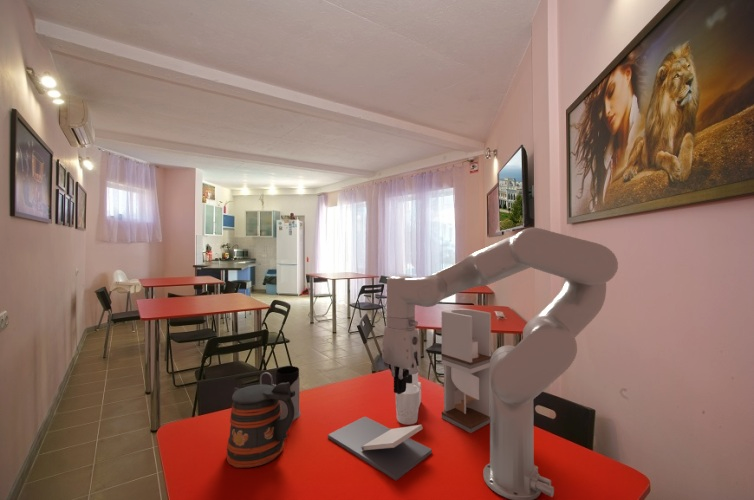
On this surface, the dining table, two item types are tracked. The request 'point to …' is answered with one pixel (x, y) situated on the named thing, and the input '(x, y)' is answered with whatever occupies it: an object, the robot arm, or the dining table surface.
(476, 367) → the white tiered shelf stand
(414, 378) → the medicine bottle
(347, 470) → the dining table surface
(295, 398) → the glass holder
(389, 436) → the tile
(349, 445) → the base
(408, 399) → the white cup
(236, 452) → the beer stein
